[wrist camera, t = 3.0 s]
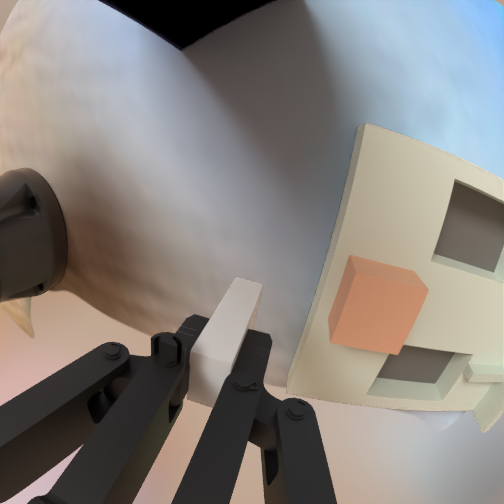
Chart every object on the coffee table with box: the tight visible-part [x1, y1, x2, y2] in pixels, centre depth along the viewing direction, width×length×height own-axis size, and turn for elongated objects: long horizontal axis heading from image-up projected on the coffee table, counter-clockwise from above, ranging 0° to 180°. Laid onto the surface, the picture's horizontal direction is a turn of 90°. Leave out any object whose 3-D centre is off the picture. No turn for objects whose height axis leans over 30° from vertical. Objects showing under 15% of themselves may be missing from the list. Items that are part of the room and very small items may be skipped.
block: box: [328, 255, 429, 355], centre depth 18 cm, size 5×5×3 cm
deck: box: [286, 123, 504, 432], centre depth 18 cm, size 23×22×6 cm
